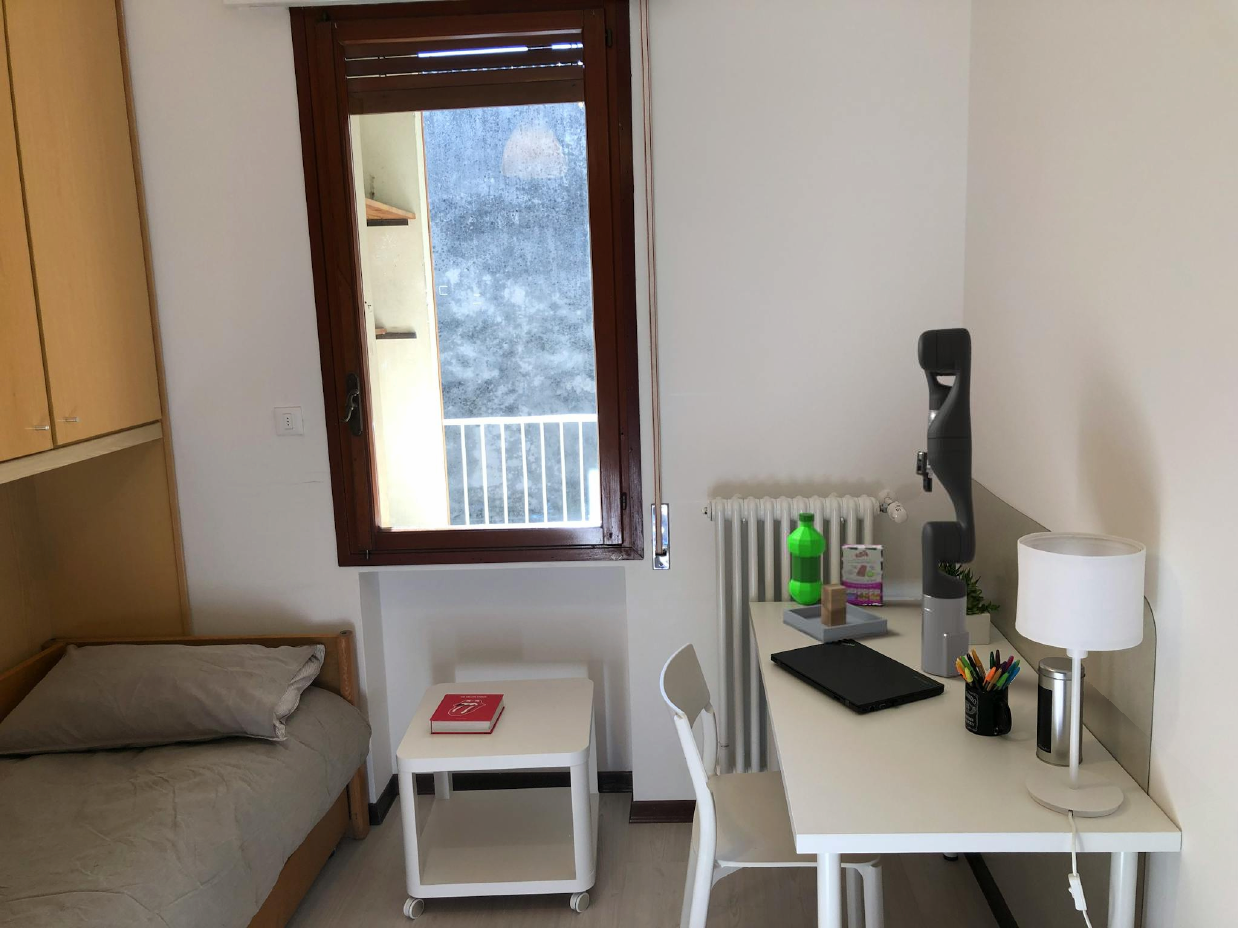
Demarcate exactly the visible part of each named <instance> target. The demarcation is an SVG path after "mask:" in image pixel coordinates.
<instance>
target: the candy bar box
mask: <svg viewBox="0 0 1238 928" xmlns="http://www.w3.org/2000/svg"><path fill="white" fill-rule="evenodd" d="M841 585H842V586H844V587H846V588H847V597H846V603H849V604H851V605H854V606H864V605H863V604H867V605H869V604H871V605H872V604H873V603H878V604H884V545H883V544H855V543H853V544H851V543H850V544H849V543H842V546H841Z"/></svg>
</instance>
